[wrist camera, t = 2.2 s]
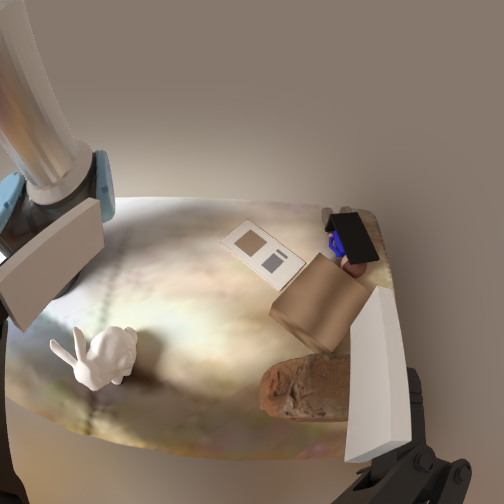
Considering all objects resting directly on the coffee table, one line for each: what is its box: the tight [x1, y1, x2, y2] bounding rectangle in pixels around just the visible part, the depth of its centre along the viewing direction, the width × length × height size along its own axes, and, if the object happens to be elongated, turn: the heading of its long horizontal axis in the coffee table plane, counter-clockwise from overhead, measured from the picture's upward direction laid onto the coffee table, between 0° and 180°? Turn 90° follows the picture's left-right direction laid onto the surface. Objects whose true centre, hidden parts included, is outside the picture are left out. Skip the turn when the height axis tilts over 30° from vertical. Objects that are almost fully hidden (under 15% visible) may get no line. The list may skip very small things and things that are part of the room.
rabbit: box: [50, 327, 138, 391], centre depth 35 cm, size 12×9×12 cm
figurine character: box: [322, 207, 380, 278], centre depth 52 cm, size 7×8×15 cm
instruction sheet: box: [219, 219, 305, 291], centre depth 53 cm, size 15×8×1 cm, turn 48°
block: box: [258, 353, 351, 422], centre depth 30 cm, size 11×8×20 cm
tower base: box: [269, 253, 372, 354], centre depth 45 cm, size 12×13×5 cm
